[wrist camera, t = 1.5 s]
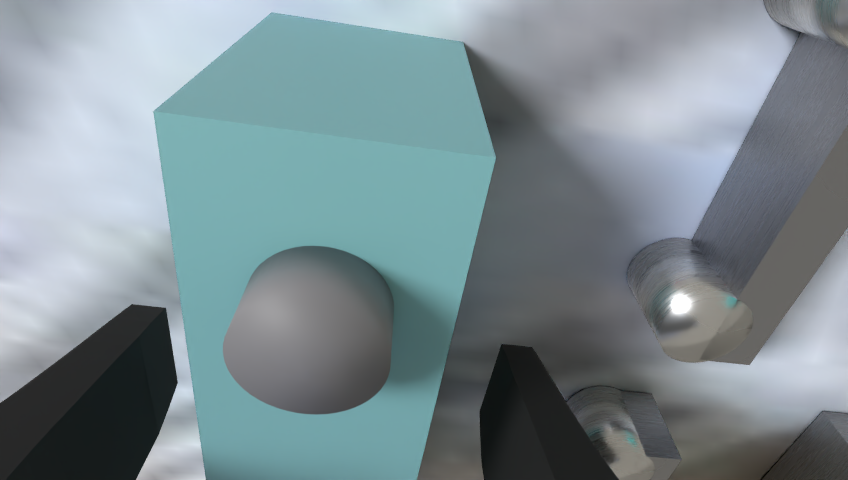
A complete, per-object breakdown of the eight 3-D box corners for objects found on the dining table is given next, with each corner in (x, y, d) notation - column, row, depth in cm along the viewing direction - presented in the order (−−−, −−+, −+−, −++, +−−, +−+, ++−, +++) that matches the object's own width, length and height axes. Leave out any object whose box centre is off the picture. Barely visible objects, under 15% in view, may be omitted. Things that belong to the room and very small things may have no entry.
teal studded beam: (384, 469, 15) (369, 708, 11) (278, 461, 15) (218, 702, 10) (462, 39, 8) (508, 201, 4) (274, 10, 8) (106, 149, 4)
